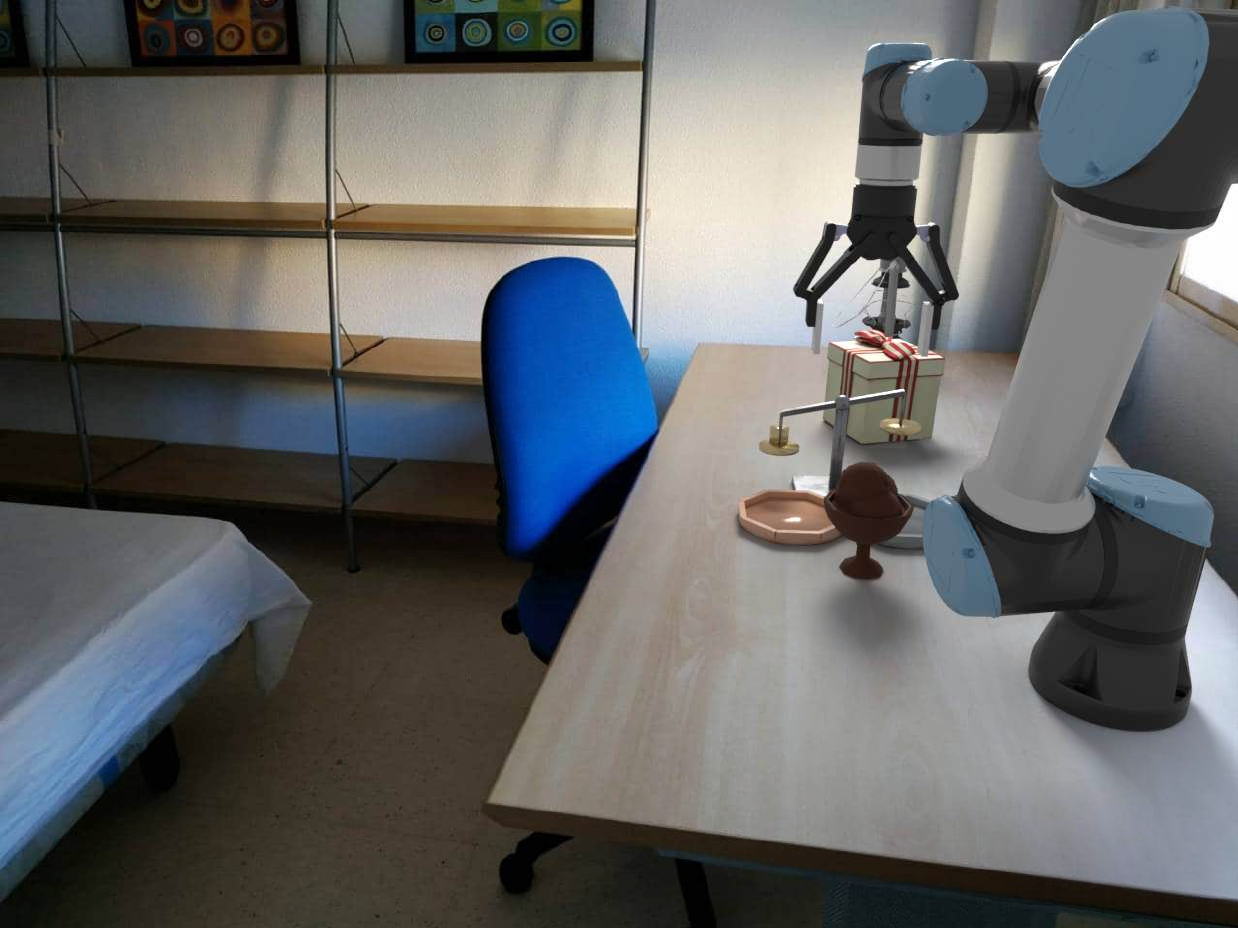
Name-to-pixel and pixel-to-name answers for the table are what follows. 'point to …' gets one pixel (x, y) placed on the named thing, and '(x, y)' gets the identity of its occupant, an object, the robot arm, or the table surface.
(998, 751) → the table surface
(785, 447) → the balance
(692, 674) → the table surface
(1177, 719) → the robot arm
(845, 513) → the ice cream bowl
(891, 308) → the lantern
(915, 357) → the gift box
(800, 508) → the terracotta dish
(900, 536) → the slate dish
